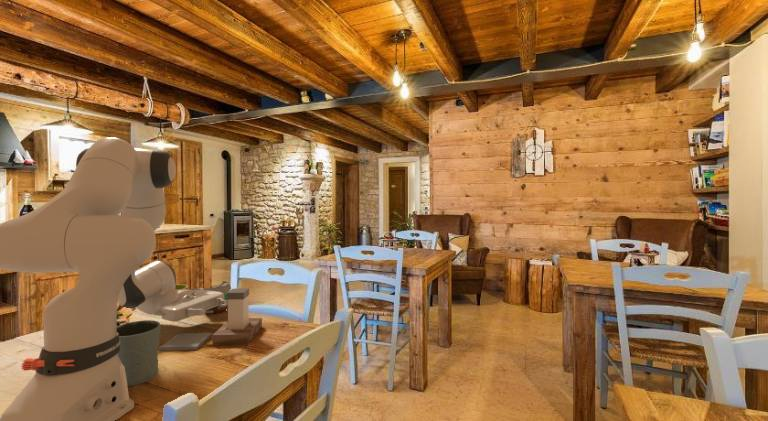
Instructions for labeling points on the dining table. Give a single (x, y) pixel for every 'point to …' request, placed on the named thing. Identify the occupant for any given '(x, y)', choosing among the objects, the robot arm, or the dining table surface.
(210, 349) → the dining table surface
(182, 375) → the dining table surface
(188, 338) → the mat
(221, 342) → the socket block
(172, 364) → the dining table surface
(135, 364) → the grey green bucket
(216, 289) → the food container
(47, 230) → the robot arm
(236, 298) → the plug
